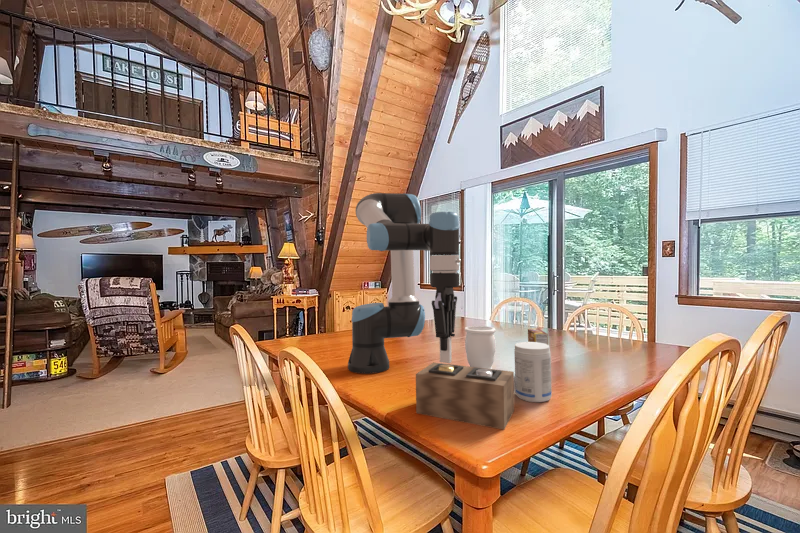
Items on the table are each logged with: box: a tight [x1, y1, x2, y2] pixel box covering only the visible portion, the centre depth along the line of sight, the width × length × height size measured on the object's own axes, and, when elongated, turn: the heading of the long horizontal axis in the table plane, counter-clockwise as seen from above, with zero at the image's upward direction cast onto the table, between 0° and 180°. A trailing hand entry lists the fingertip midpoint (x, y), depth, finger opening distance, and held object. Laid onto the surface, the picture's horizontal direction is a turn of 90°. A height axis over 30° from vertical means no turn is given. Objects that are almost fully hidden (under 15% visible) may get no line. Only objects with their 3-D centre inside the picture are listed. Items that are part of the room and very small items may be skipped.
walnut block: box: [415, 362, 515, 430], centre depth 95 cm, size 22×12×11 cm, turn 63°
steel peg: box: [476, 369, 493, 377], centre depth 93 cm, size 4×4×10 cm
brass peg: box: [439, 364, 454, 372], centre depth 97 cm, size 4×4×10 cm
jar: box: [464, 325, 497, 369], centre depth 131 cm, size 11×10×15 cm
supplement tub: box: [513, 341, 552, 403], centre depth 105 cm, size 10×10×15 cm
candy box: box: [527, 328, 549, 345], centre depth 123 cm, size 9×4×15 cm, turn 177°
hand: (445, 361), depth 98 cm, fingers closed
